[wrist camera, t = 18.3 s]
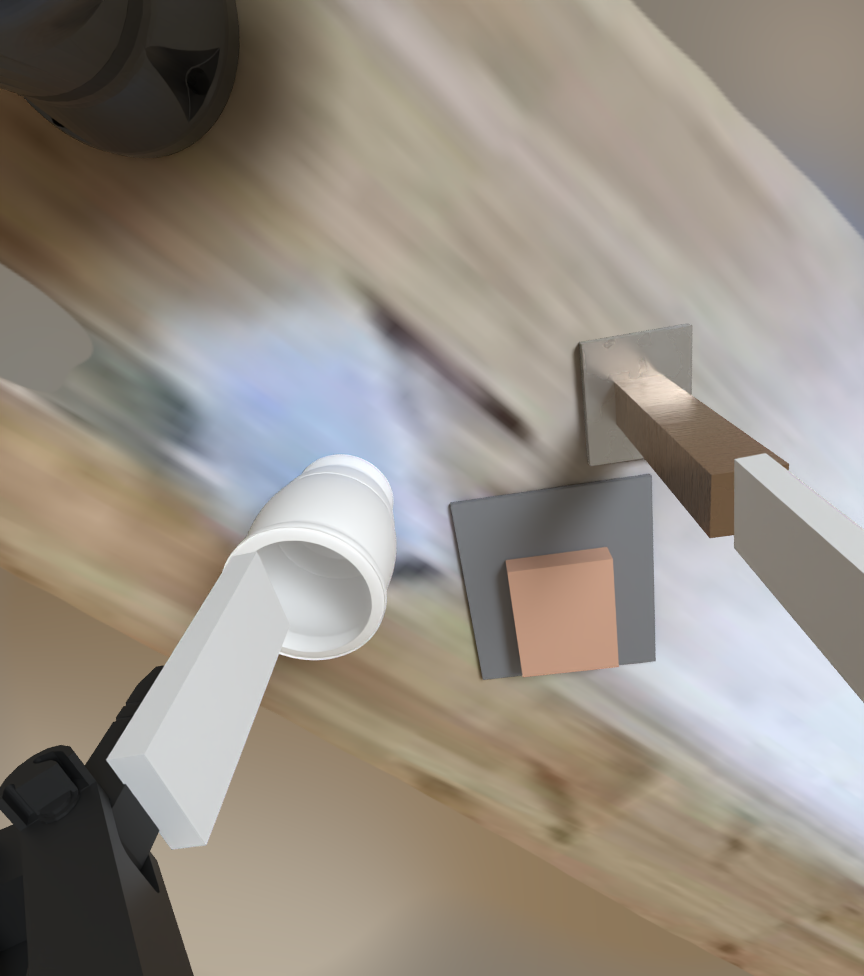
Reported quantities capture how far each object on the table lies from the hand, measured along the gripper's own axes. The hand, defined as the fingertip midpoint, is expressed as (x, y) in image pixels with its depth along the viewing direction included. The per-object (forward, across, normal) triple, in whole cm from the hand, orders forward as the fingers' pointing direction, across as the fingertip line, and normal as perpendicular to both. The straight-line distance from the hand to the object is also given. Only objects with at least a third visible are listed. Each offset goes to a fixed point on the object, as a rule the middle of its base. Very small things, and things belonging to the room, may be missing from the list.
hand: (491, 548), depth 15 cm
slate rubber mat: (+30, +4, -24) cm, 39 cm away
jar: (+30, -13, -12) cm, 35 cm away
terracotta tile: (+28, +4, -21) cm, 35 cm away
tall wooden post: (+30, +12, -8) cm, 34 cm away
